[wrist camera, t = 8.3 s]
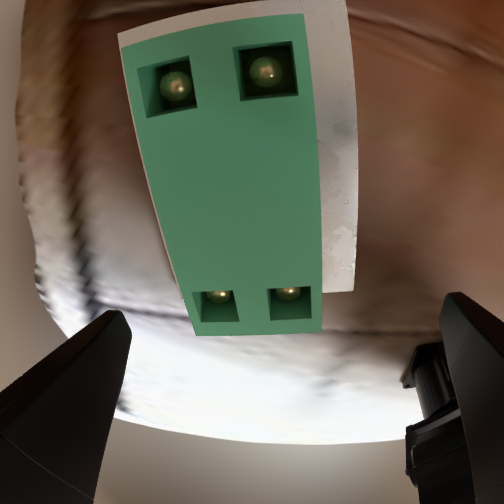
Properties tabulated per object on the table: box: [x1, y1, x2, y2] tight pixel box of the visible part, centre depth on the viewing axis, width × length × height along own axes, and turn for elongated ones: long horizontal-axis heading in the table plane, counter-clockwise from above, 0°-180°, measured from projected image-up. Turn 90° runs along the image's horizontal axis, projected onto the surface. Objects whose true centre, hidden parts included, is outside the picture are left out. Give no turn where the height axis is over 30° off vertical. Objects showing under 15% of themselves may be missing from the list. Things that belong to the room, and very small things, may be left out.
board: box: [121, 13, 322, 336], centre depth 13 cm, size 14×6×2 cm, turn 7°
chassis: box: [117, 0, 358, 304], centre depth 15 cm, size 18×12×6 cm, turn 7°
